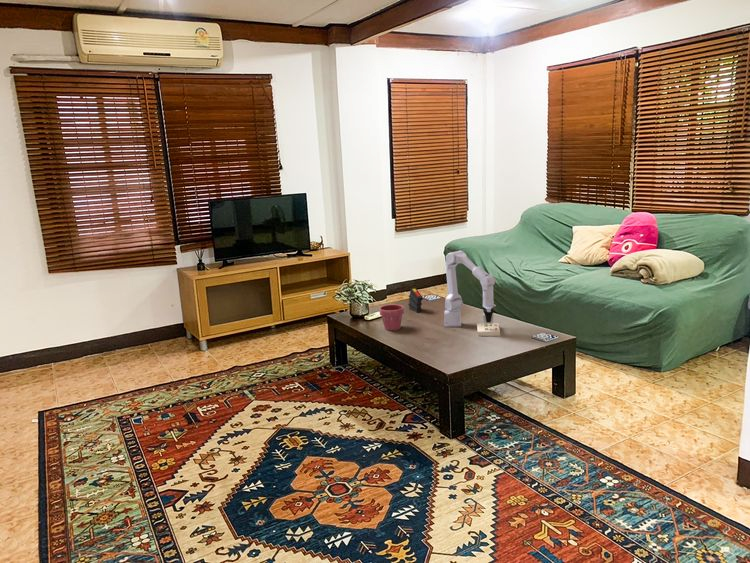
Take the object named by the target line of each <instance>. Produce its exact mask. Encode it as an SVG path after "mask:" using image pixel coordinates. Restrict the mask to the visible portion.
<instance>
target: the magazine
mask: <svg viewBox="0 0 750 563" xmlns="http://www.w3.org/2000/svg"><path fill="white" fill-rule="evenodd" d="M408 298H409V300H408V306H409V310H411V311H413V312H415V313H422V311H423V309H422V305H423V303H422V301H423V300H424V298H423V295H422V294H421V293H420V291H419V290H418V289H417V287H415V286H414V287H410V288H409V295H408Z"/></svg>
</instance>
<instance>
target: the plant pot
mask: <svg viewBox="0 0 750 563" xmlns="http://www.w3.org/2000/svg"><path fill="white" fill-rule="evenodd" d="M404 311H405V309H404V306H403V305H402V304H385V305H382V306H380V307H379V315H380V316H381V318H382V319H381V320H382V323H383V327H384V329H385V330H386V331H397V330H400V329H401V326H402V325H401V324H402V319H403V315H404V313H405V312H404Z"/></svg>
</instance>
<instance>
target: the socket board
mask: <svg viewBox="0 0 750 563" xmlns="http://www.w3.org/2000/svg"><path fill="white" fill-rule="evenodd" d="M500 330H501V329H500V325H499V323H498V322H493V324H492V326H490V324H487V327H486V324H483V322H482V323H481V322H480V323H478V322H477V323H476V331H477V336H478V337H500V336H501V331H500Z"/></svg>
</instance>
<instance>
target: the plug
mask: <svg viewBox="0 0 750 563" xmlns="http://www.w3.org/2000/svg"><path fill="white" fill-rule="evenodd" d="M482 323H483V324H486V327H487V324H490V326H492V324H493V323H494V313H493V314H492V318H491V322H488V323H487V322H486V317H485V314H484V312H483V313H482Z"/></svg>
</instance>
